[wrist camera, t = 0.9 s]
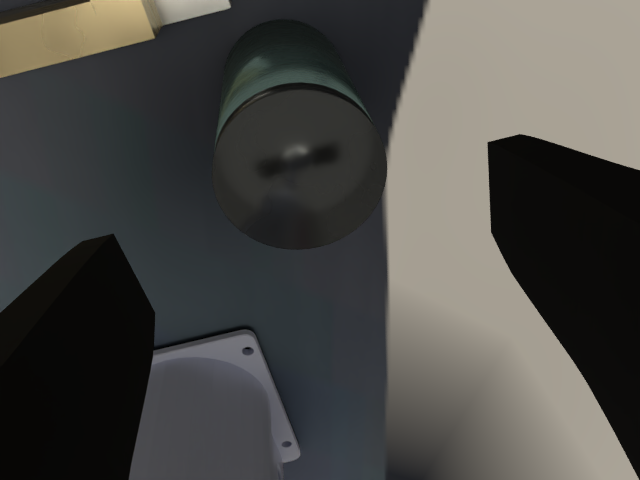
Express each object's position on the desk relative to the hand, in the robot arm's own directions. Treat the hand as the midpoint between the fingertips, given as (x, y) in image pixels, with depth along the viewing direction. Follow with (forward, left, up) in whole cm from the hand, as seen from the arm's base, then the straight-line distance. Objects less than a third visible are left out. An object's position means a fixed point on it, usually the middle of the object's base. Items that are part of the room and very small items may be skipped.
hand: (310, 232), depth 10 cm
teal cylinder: (0, 0, -9) cm, 9 cm away
